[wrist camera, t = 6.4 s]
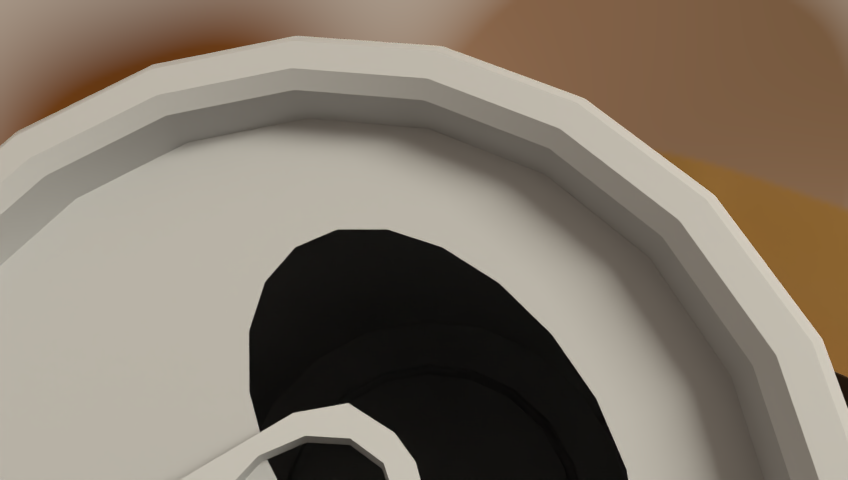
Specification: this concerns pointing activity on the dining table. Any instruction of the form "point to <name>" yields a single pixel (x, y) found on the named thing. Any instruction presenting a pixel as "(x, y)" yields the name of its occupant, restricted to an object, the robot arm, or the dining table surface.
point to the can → (385, 286)
